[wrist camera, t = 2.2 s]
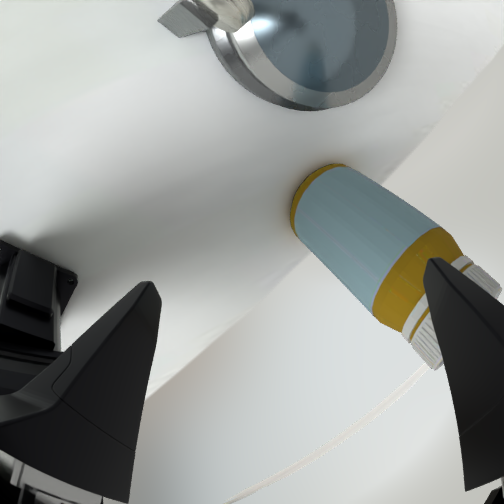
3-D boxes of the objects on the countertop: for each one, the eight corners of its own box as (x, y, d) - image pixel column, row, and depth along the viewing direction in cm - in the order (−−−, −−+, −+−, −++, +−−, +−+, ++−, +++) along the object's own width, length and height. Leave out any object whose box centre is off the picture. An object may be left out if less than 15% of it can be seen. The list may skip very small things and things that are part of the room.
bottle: (363, 161, 23) (516, 268, 12) (342, 232, 27) (463, 346, 16) (294, 160, 20) (482, 304, 9) (278, 243, 24) (409, 394, 13)
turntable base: (296, 148, 19) (369, 193, 14) (147, 13, 10) (178, -21, 6) (398, 39, 17) (474, 56, 12) (306, -93, 8) (388, -118, 3)
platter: (311, 141, 18) (321, 147, 17) (170, 3, 10) (175, -1, 9) (406, 39, 16) (417, 41, 15) (319, -91, 7) (331, -95, 7)
